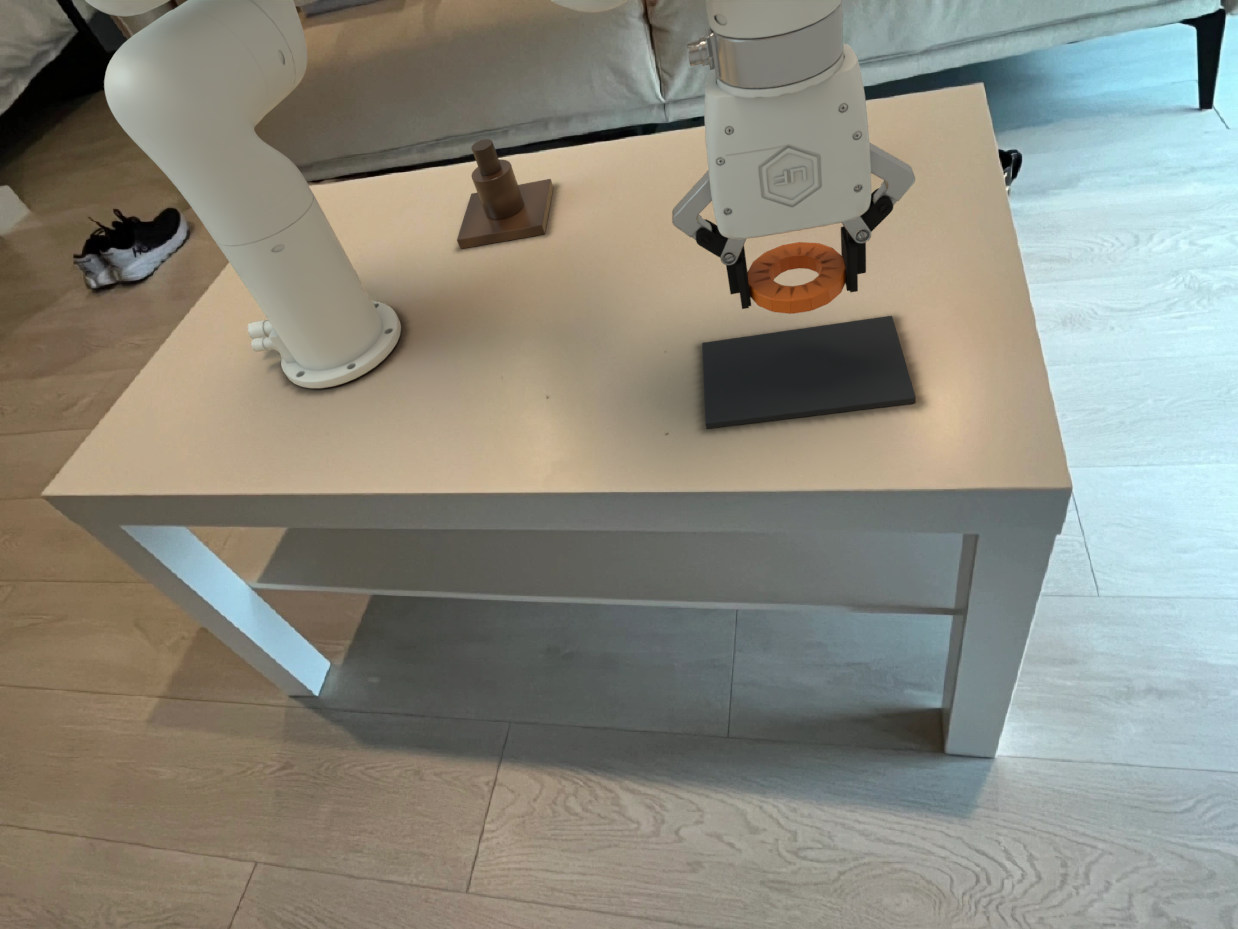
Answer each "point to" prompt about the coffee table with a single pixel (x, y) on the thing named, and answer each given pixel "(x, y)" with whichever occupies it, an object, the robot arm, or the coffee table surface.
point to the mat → (805, 373)
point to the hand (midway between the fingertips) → (797, 287)
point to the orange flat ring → (798, 296)
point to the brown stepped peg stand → (502, 202)
